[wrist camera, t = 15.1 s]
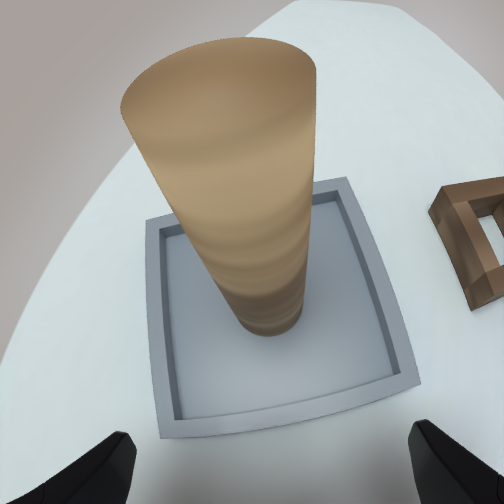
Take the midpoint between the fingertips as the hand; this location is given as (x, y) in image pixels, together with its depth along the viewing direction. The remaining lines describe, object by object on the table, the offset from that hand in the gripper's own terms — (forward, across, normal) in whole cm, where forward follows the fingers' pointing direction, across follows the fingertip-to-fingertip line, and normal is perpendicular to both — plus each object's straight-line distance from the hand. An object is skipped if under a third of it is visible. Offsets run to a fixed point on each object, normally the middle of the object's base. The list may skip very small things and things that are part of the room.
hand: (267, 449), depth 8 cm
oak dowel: (+10, 0, 0) cm, 10 cm away
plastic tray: (+11, 0, +1) cm, 11 cm away
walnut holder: (+13, -17, -1) cm, 21 cm away
